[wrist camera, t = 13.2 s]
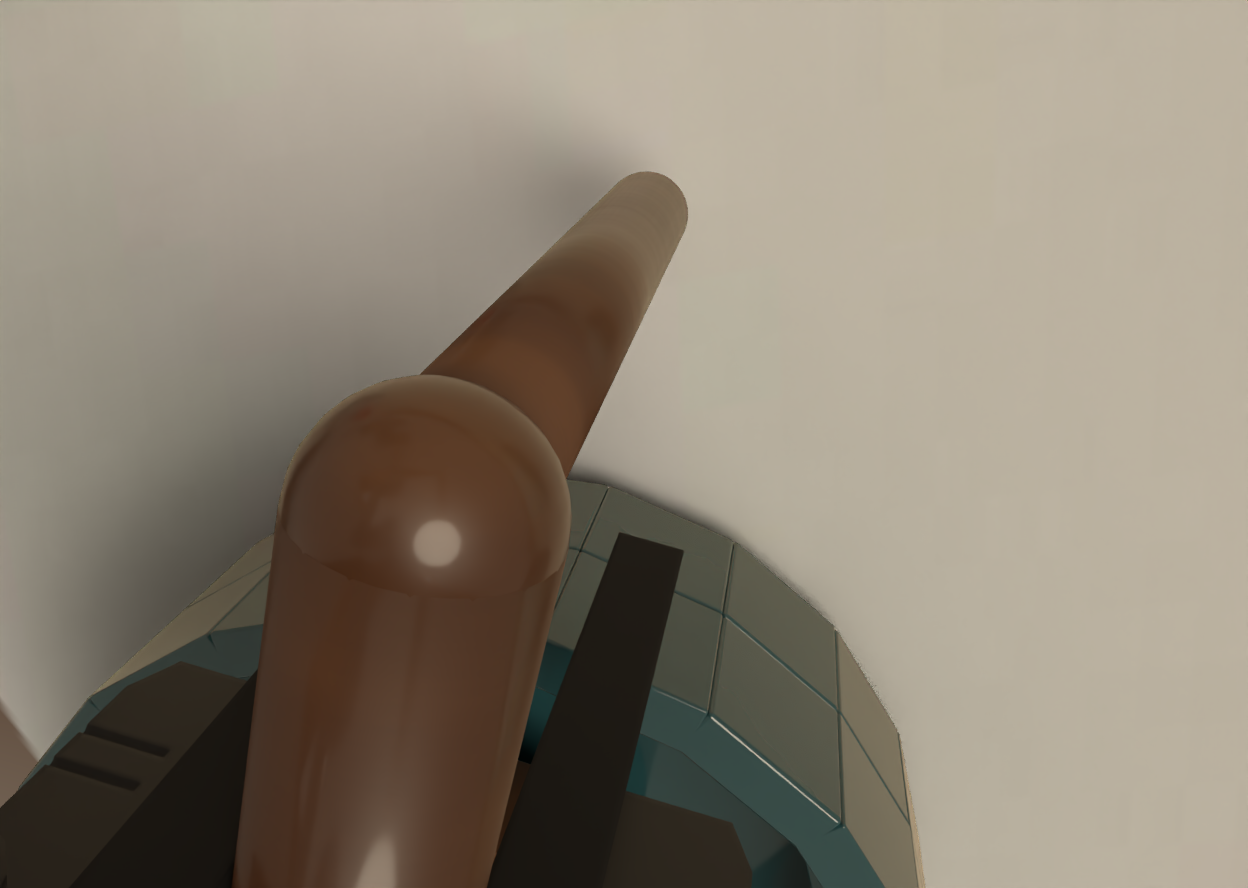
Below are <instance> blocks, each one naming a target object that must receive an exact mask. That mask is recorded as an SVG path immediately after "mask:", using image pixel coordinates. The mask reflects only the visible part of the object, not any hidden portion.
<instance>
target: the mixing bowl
mask: <svg viewBox="0 0 1248 888" xmlns="http://www.w3.org/2000/svg"><path fill="white" fill-rule="evenodd" d="M566 481H567V485H568V489H569V494H570V503H571V514H572V524H571V532H570V540H569V549H568V554H567V558H566V562H565V566H564V570H563V574H562V578H561V583H560V587H559V591H558V595H557V599H556V603H555V607H554V612H553V616H552V620H551V624H550V628H549V632H548V636H547V641H546V645H545V649H544V653H543V657H542V661H541V665H540V670H539V674H538V678H537V682H536V686H535V690H534V694H533V699H532V703H531V707H530V711H529V715H528V719H527V724H526V728H525V732H524V736H523V740H522V744H521V748H520V753H519V757H518V760H519V761H522V762H525V763H528V764H531V762H532V760H533V757H534V754H535V752H536V749H537V746H538V744H539V741H540V739H541V736H542V733H543V731H544V728H545V725H546V723H547V720H548V718H549V715H550V712H551V710H552V707H553V704H554V702H555V699H556V697H557V694H558V691H559V689H560V686H561V683H562V681H563V678H564V676H565V673H566V670H567V668H568V665H569V662H570V660H571V657H572V655H573V652H574V649H575V647H576V644H577V641H578V639H579V636H580V634H581V631H582V628H583V626H584V623H585V620H586V618H587V615H588V613H589V610H590V607H591V605H592V602H593V599H594V597H595V594H596V592H597V589H598V586H599V584H600V581H601V578H602V576H603V573H604V571H605V568H606V565H607V563H608V560H609V557H610V555H611V552H612V550H613V547H614V544H615V542H616V539H617V536H618V534H619V532H622V533H625V534H629V535H632V536H636V537H639V538H643V539H646V540H650V541H653V542H657V543H660V544H664V545H667V546H671V547H674V548H678V549H681V550H684V553H683V557H682V561H681V565H680V570H679V574H678V578H677V582H676V586H675V590H674V594H673V598H672V603H671V607H670V611H669V615H668V619H667V623H666V627H665V631H664V635H663V640H662V644H661V648H660V652H659V656H658V660H657V664H656V668H655V672H654V677H653V681H652V685H651V689H650V693H649V697H648V701H647V705H646V710H645V714H644V718H643V722H642V726H641V730H640V734H639V738H638V742H637V747H636V751H635V755H634V759H633V763H632V767H631V771H630V775H629V780H628V784H627V788H626V791H628V792H631V793H635V794H638V795H641V796H645V797H648V798H651V799H655V800H658V801H661V802H665V803H668V804H671V805H675V806H678V807H681V808H685V809H688V810H691V811H695V812H698V813H701V814H705V815H708V816H711V817H715V818H718V819H721V820H725V821H728V822H731V823H733V826H734V828H735V831H736V833H737V836H738V838H739V840H740V843H741V845H742V848H743V850H744V853H745V855H746V858H747V860H748V863H749V865H750V867H751V870H752V886H751V888H925V880H924V873H923V866H922V858H921V851H920V843H919V836H918V831H917V825H916V820H915V815H914V809H913V804H912V798H911V793H910V788H909V782H908V777H907V772H906V766H905V761H904V755H903V750H902V745H901V739H900V734H899V733H898V732H897V729H896V727H895V725H894V724H893V722H892V720H891V719H890V717H889V715H888V714H887V712H886V710H885V709H884V707H883V705H882V704H881V702H880V700H879V699H878V697H877V695H876V694H875V692H874V690H873V689H872V687H871V685H870V684H869V682H868V681H867V679H866V677H865V676H864V674H863V672H862V671H861V669H860V667H859V666H858V664H857V662H856V661H855V659H854V657H853V656H852V654H851V652H850V651H849V649H848V647H847V646H846V644H845V642H844V641H843V639H842V637H841V636H840V634H839V633H838V632H837V631H836V630H835V628H834V626H833V625H832V624H831V623H830V622H829V621H827V620H826V619H825V618H824V617H823V616H822V615H820V614H819V613H818V612H817V611H816V610H815V609H813V608H812V607H811V606H810V605H809V604H808V603H806V602H805V601H804V600H803V599H802V598H801V597H799V596H798V595H797V594H796V593H795V592H794V591H793V590H791V589H790V588H789V587H788V586H787V585H786V584H784V583H783V582H782V581H781V580H780V579H779V578H777V577H776V576H775V575H774V574H773V573H772V572H770V571H769V570H768V569H767V568H766V567H765V566H763V565H762V564H761V563H760V562H759V561H758V560H756V559H755V558H754V557H753V556H752V555H751V554H750V553H748V552H747V551H746V550H745V549H744V548H743V547H741V546H740V545H739V544H738V543H733V541H732V540H731V539H729V538H726V537H724V536H722V535H720V534H717V533H715V532H713V531H711V530H708V529H706V528H704V527H702V526H699V525H697V524H695V523H693V522H690V521H688V520H686V519H684V518H682V517H679V516H677V515H675V514H673V513H670V512H668V511H666V510H664V509H661V508H659V507H657V506H655V505H652V504H650V503H648V502H646V501H643V500H641V499H639V498H637V497H634V496H632V495H630V494H628V493H625V492H623V491H621V490H619V489H616V488H614V487H609V488H608V486H607V485H604V484H596V483H589V482H581V481H574V480H566ZM273 541H274V533H273V534H271V535H270V536H268V537H266V538H264V539H263V540H261V541H259V542H257V543H256V544H255V545H254V546H253V547H252V548H251V549H250V550H249V551H248V552H246V553H245V554H244V555H243V556H242V557H241V558H240V559H239V560H238V561H237V562H236V563H234V564H233V565H232V566H231V567H230V568H229V569H228V570H227V571H226V572H225V573H224V574H223V575H221V576H220V577H219V578H218V579H217V580H216V581H215V582H214V583H213V584H212V585H211V586H209V587H208V588H207V589H206V590H205V591H204V592H203V593H202V594H201V595H200V596H199V597H198V598H196V599H195V600H194V601H193V602H192V603H191V604H190V605H189V606H188V607H187V608H186V609H184V610H183V612H181V613H180V614H179V615H178V616H177V617H176V618H175V619H174V620H172V621H171V622H170V623H169V624H168V625H167V626H166V627H165V628H164V629H163V630H162V631H160V632H159V633H158V634H157V635H156V636H155V637H154V638H153V639H152V640H151V641H150V642H149V643H147V644H146V645H145V646H144V647H143V648H142V649H141V650H140V651H139V652H138V653H137V654H135V655H134V656H133V657H132V658H131V659H130V660H129V661H128V662H127V663H126V664H125V665H123V666H122V667H121V668H120V669H119V670H118V671H117V672H116V673H115V674H114V675H113V676H112V677H110V678H109V679H108V680H107V681H106V682H105V683H104V684H103V685H102V686H101V687H100V688H98V689H97V690H96V691H95V692H94V693H93V694H92V695H91V696H90V697H89V698H88V699H87V700H86V701H85V702H84V704H83V705H82V706H81V708H80V709H79V710H78V711H77V713H76V714H75V715H74V717H73V718H72V719H71V720H70V722H69V723H68V724H67V726H66V727H65V728H64V729H63V731H62V732H61V733H60V735H59V736H58V737H57V739H56V740H55V741H54V742H53V744H52V745H51V746H50V748H49V749H48V750H47V751H46V753H45V754H44V755H43V757H42V758H41V759H40V760H39V762H38V763H37V764H36V766H35V767H34V768H33V770H32V771H31V772H30V773H29V775H28V776H27V777H26V778H25V780H24V781H23V782H22V784H21V785H20V786H19V789H20V788H21V787H22V786H23V785H24V784H25V783H27V782H28V781H29V780H30V779H31V778H32V777H33V776H34V775H35V774H36V773H37V772H38V771H39V770H40V769H41V768H42V767H43V766H44V765H45V764H46V765H50V764H51V763H52V761H53V758H54V756H55V755H56V754H57V753H58V752H59V751H60V750H61V749H62V748H63V747H64V746H65V745H66V744H67V743H68V742H69V741H70V740H71V739H72V738H73V737H74V736H75V735H76V734H77V733H78V732H81V733H83V732H84V731H85V729H86V727H87V724H88V723H89V722H90V721H91V720H92V719H93V718H94V717H95V716H96V715H97V714H98V713H99V712H100V711H101V710H102V709H103V708H104V707H106V706H107V705H108V704H109V703H110V702H111V701H112V700H113V699H114V698H115V697H116V696H117V695H118V694H119V693H120V692H121V691H122V690H123V689H124V688H125V687H126V686H128V685H131V684H133V683H135V682H137V681H139V680H141V679H144V678H146V677H148V676H150V675H152V674H154V673H156V672H159V671H161V670H163V669H165V668H167V667H169V666H171V665H174V664H176V663H178V662H180V661H182V662H186V663H189V664H192V665H196V666H199V667H202V668H206V669H209V670H212V671H216V672H219V673H222V674H226V675H229V676H232V677H236V678H239V679H242V680H245V681H248V679H249V678H250V677H251V676H252V675H253V674H254V672H255V671H256V670H257V669H258V665H259V656H260V648H261V640H262V632H263V623H264V615H265V607H266V599H267V590H268V582H269V574H270V566H271V558H272V549H273ZM19 789H18V790H19Z"/></svg>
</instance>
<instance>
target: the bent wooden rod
mask: <svg viewBox="0 0 1248 888" xmlns="http://www.w3.org/2000/svg"><path fill="white" fill-rule="evenodd" d="M687 221H688V208H687V203H686V199H685V197H684V195H683V193H682V191H681V190H680V188H679V187H678V186H677V185H676V184H675V183H674V182H673V181H672V180H671V179H669V178H668V177H666V176H664V175H662V174H659V173H655V172H638V173H634V174H631V175H629V176H627V177H625V178H623V179H622V180H621V181H619V182H618V183H617V184H616V185H615V186H614V187H613V188H612V189H611V190H610V191H609V192H608V193H607V194H606V195H605V196H604V197H603V198H602V199H601V200H600V201H599V202H598V203H597V204H596V205H595V206H594V207H592V208H591V209H590V210H589V211H588V212H587V213H586V214H585V215H584V216H583V217H582V218H581V219H580V220H579V221H578V222H577V223H576V224H575V225H574V226H573V227H572V228H571V229H570V230H569V231H568V232H567V233H566V234H565V235H564V236H562V237H561V238H560V239H559V240H558V241H557V242H556V243H555V244H554V245H553V246H552V247H551V248H550V249H549V250H548V251H547V252H546V253H545V254H544V255H543V256H542V257H541V258H540V259H539V260H538V261H537V262H536V263H535V264H534V265H532V266H531V267H530V268H529V269H528V270H527V271H526V272H525V273H524V274H523V275H522V276H521V277H520V278H519V279H518V280H517V281H516V282H515V283H514V284H513V285H512V286H511V287H510V288H509V289H508V290H507V291H506V292H505V293H504V294H502V295H501V296H500V297H499V298H498V299H497V300H496V301H495V302H494V303H493V304H492V305H491V306H490V307H489V308H488V309H487V310H486V311H485V312H484V313H483V314H482V315H481V316H480V317H479V318H478V319H477V320H476V321H475V322H474V323H472V324H471V325H470V326H469V327H468V328H467V329H466V330H465V331H464V332H463V333H462V334H461V335H460V336H459V337H458V338H457V339H456V340H455V341H454V342H453V343H452V344H451V345H450V346H449V347H448V348H447V349H446V350H445V351H444V352H442V353H441V354H440V355H439V356H438V357H437V358H436V359H435V360H434V361H433V362H432V363H431V364H430V365H429V366H428V367H427V368H426V369H425V370H424V371H423V372H422V373H421V374H420V375H414V376H407V377H401V378H395V379H390V380H385V381H382V382H379V383H376V384H374V385H372V386H369V387H367V388H365V389H363V390H360V391H358V392H356V393H354V394H352V395H350V396H349V397H347V398H346V399H344V400H343V401H341V402H340V403H339V404H338V405H336V406H335V407H334V408H332V409H331V410H330V411H328V412H327V413H326V414H324V415H323V417H322V418H321V419H320V420H319V421H318V423H317V424H316V425H315V426H314V427H313V429H312V430H311V431H310V432H309V433H308V435H307V436H306V437H305V438H304V440H303V441H302V442H301V443H300V444H299V446H298V448H297V450H296V452H295V454H294V456H293V458H292V460H291V462H290V464H289V466H288V468H287V472H286V475H285V479H284V482H283V487H282V491H281V495H280V498H279V503H278V508H277V516H276V525H275V533H274V541H273V549H272V558H271V566H270V574H269V582H268V590H267V599H266V607H265V615H264V623H263V632H262V640H261V648H260V656H259V665H258V673H257V681H256V689H255V698H254V706H253V714H252V722H251V731H250V739H249V747H248V755H247V763H246V772H245V780H244V788H243V796H242V805H241V813H240V821H239V829H238V838H237V846H236V854H235V862H234V871H233V879H232V887H231V888H487V885H488V881H489V877H490V873H491V869H492V865H493V862H494V859H495V857H496V854H497V851H498V849H499V846H500V844H501V841H502V838H503V836H504V833H505V830H506V828H507V825H508V823H509V820H510V817H511V815H512V812H513V809H514V807H515V804H516V802H517V799H518V796H519V794H520V791H521V788H522V786H523V783H524V781H525V778H526V775H527V773H528V770H529V767H530V765H531V764H528V763H525V762H522V761H519V760H518V757H519V753H520V748H521V744H522V740H523V736H524V732H525V728H526V724H527V719H528V715H529V711H530V707H531V703H532V699H533V694H534V690H535V686H536V682H537V678H538V674H539V670H540V665H541V661H542V657H543V653H544V649H545V645H546V641H547V636H548V632H549V628H550V624H551V620H552V616H553V612H554V607H555V603H556V599H557V595H558V591H559V587H560V583H561V578H562V574H563V570H564V566H565V562H566V558H567V554H568V549H569V540H570V532H571V524H572V514H571V503H570V494H569V489H568V485H567V481H566V479H567V477H568V475H569V472H570V470H571V468H572V466H573V464H574V462H575V460H576V458H577V456H578V454H579V451H580V449H581V447H582V445H583V443H584V441H585V439H586V437H587V435H588V433H589V431H590V428H591V426H592V424H593V422H594V420H595V418H596V416H597V414H598V412H599V410H600V407H601V405H602V403H603V401H604V399H605V397H606V395H607V393H608V391H609V389H610V386H611V384H612V382H613V380H614V378H615V376H616V374H617V372H618V370H619V368H620V365H621V363H622V361H623V359H624V357H625V355H626V353H627V351H628V349H629V347H630V344H631V342H632V340H633V338H634V336H635V334H636V332H637V330H638V328H639V326H640V323H641V321H642V319H643V317H644V315H645V313H646V311H647V309H648V307H649V305H650V303H651V300H652V298H653V296H654V294H655V292H656V290H657V288H658V286H659V284H660V282H661V279H662V277H663V275H664V273H665V271H666V269H667V267H668V265H669V263H670V261H671V258H672V256H673V254H674V252H675V250H676V248H677V246H678V244H679V242H680V240H681V237H682V235H683V233H684V231H685V229H686V225H687Z"/></svg>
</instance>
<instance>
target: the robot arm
mask: <svg viewBox="0 0 1248 888" xmlns="http://www.w3.org/2000/svg"><path fill="white" fill-rule="evenodd" d="M683 553H684V550H681V549H678V548H674V547H671V546H667V545H664V544H660V543H657V542H653V541H650V540H646V539H643V538H639V537H636V536H632V535H629V534H625V533H622V532H619V534H618V536H617V539H616V542H615V544H614V547H613V550H612V552H611V555H610V557H609V560H608V563H607V565H606V568H605V571H604V573H603V576H602V578H601V581H600V584H599V586H598V589H597V592H596V594H595V597H594V599H593V602H592V605H591V607H590V610H589V613H588V615H587V618H586V620H585V623H584V626H583V628H582V631H581V634H580V636H579V639H578V641H577V644H576V647H575V649H574V652H573V655H572V657H571V660H570V662H569V665H568V668H567V670H566V673H565V676H564V678H563V681H562V683H561V686H560V689H559V691H558V694H557V697H556V699H555V702H554V704H553V707H552V710H551V712H550V715H549V718H548V720H547V723H546V725H545V728H544V731H543V733H542V736H541V739H540V741H539V744H538V746H537V749H536V752H535V754H534V757H533V760H532V762H531V765H530V767H529V770H528V773H527V775H526V778H525V781H524V783H523V786H522V788H521V791H520V794H519V796H518V799H517V802H516V804H515V807H514V809H513V812H512V815H511V817H510V820H509V823H508V825H507V828H506V830H505V833H504V836H503V838H502V841H501V844H500V846H499V849H498V851H497V854H496V857H495V859H494V862H493V865H492V869H491V873H490V877H489V881H488V885H487V888H751V886H752V870H751V867H750V865H749V863H748V860H747V858H746V855H745V853H744V850H743V848H742V845H741V843H740V840H739V838H738V836H737V833H736V831H735V828H734V826H733V823H731V822H728V821H725V820H721V819H718V818H715V817H711V816H708V815H705V814H701V813H698V812H695V811H691V810H688V809H685V808H681V807H678V806H675V805H671V804H668V803H665V802H661V801H658V800H655V799H651V798H648V797H645V796H641V795H638V794H635V793H631V792H628V791H626V788H627V784H628V780H629V775H630V771H631V767H632V763H633V759H634V755H635V751H636V747H637V742H638V738H639V734H640V730H641V726H642V722H643V718H644V714H645V710H646V705H647V701H648V697H649V693H650V689H651V685H652V681H653V677H654V672H655V668H656V664H657V660H658V656H659V652H660V648H661V644H662V640H663V635H664V631H665V627H666V623H667V619H668V615H669V611H670V607H671V603H672V598H673V594H674V590H675V586H676V582H677V578H678V574H679V570H680V565H681V561H682V557H683ZM257 673H258V669H257V670H256V671H255V672H254V674H253V675H252V676H251V677H250V678H249V679H248V681H245V680H242V679H239V678H236V677H232V676H229V675H226V674H222V673H219V672H216V671H212V670H209V669H206V668H202V667H199V666H196V665H192V664H189V663H186V662H182V661H180V662H178V663H176V664H174V665H171V666H169V667H167V668H165V669H163V670H161V671H159V672H156V673H154V674H152V675H150V676H148V677H146V678H144V679H141V680H139V681H137V682H135V683H133V684H131V685H128V686H126V687H125V688H124V689H123V690H122V691H121V692H120V693H119V694H118V695H117V696H116V697H115V698H114V699H113V700H112V701H111V702H110V703H109V704H108V705H107V706H106V707H104V708H103V709H102V710H101V711H100V712H99V713H98V714H97V715H96V716H95V717H94V718H93V719H92V720H91V721H90V722H89V723H88V724H87V727H86V729H85V731H84V732H83V733H81V732H78V733H77V734H76V735H75V736H74V737H73V738H72V739H71V740H70V741H69V742H68V743H67V744H66V745H65V746H64V747H63V748H62V749H61V750H60V751H59V752H58V753H57V754H56V755H55V756H54V758H53V761H52V763H51V764H50V765H46V764H45V765H44V766H43V767H42V768H41V769H40V770H39V771H38V772H37V773H36V774H35V775H34V776H33V777H32V778H31V779H30V780H29V781H28V782H27V783H25V784H24V785H23V786H22V787H21V788H20V789H19V790H18V791H17V792H16V793H15V794H14V795H13V796H12V797H11V798H10V799H9V800H8V801H7V802H6V803H5V804H4V805H3V806H2V807H1V808H0V888H231V887H232V879H233V871H234V862H235V854H236V846H237V838H238V829H239V821H240V813H241V805H242V796H243V788H244V780H245V772H246V763H247V755H248V747H249V739H250V731H251V722H252V714H253V706H254V698H255V689H256V681H257Z"/></svg>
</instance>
